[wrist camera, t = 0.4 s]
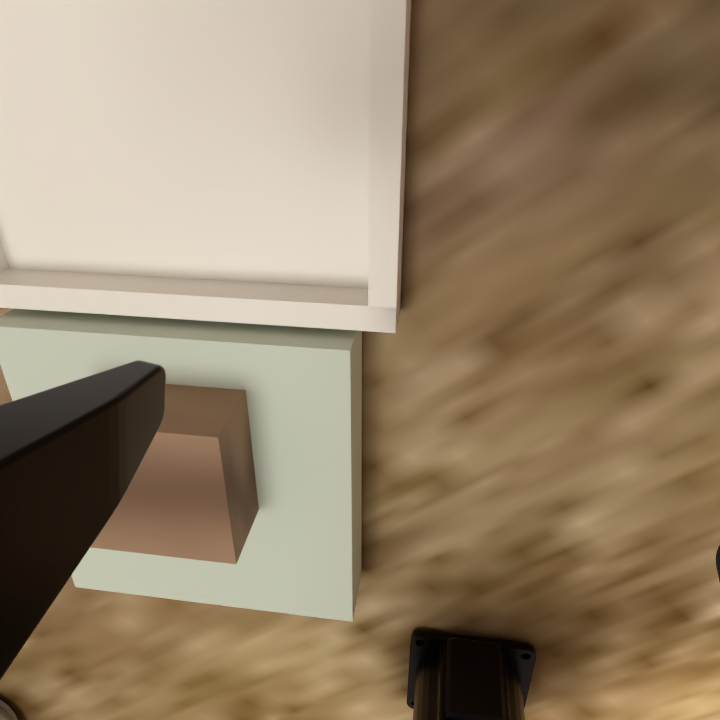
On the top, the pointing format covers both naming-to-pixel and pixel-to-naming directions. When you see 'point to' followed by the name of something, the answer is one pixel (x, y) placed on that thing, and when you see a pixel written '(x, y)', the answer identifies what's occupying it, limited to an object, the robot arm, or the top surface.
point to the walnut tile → (191, 482)
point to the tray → (205, 159)
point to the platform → (269, 446)
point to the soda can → (6, 712)
